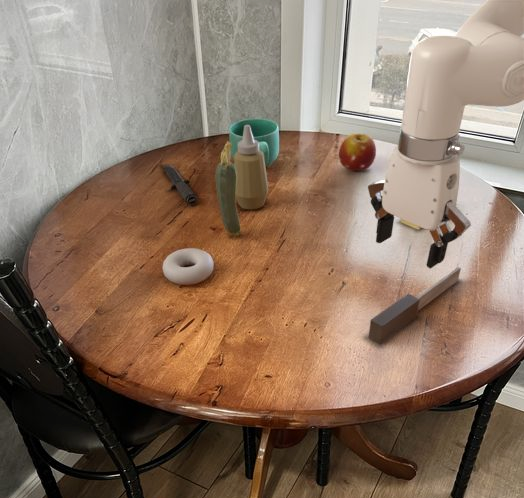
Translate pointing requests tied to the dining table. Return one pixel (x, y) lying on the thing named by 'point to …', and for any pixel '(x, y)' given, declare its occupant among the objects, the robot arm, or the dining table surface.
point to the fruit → (357, 152)
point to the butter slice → (410, 224)
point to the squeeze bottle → (250, 172)
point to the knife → (181, 185)
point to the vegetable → (227, 191)
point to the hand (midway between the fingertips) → (408, 251)
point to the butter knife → (407, 309)
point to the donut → (188, 275)
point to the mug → (257, 137)
